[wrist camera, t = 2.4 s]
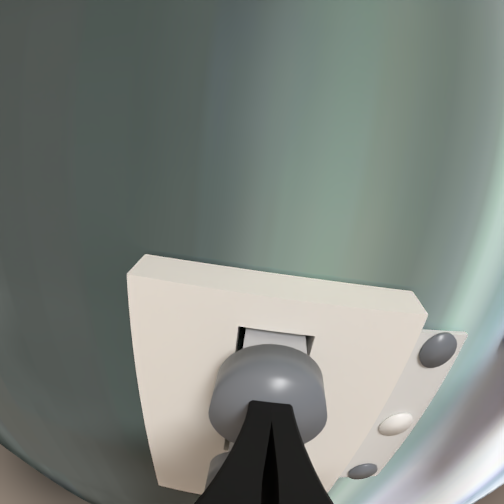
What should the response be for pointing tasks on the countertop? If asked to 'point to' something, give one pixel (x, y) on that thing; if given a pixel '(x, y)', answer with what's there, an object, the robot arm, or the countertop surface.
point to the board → (226, 343)
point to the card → (407, 400)
